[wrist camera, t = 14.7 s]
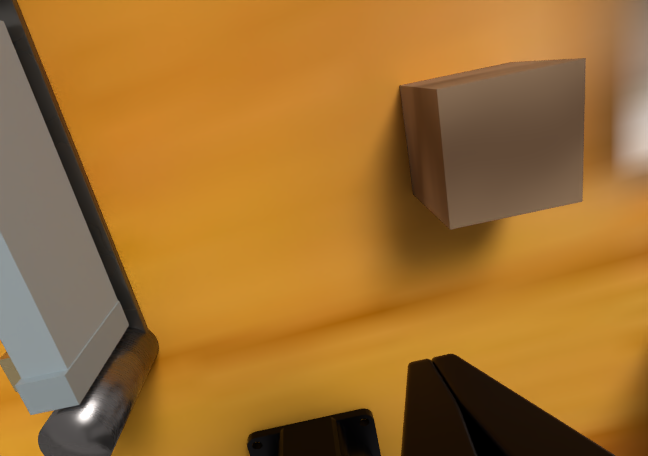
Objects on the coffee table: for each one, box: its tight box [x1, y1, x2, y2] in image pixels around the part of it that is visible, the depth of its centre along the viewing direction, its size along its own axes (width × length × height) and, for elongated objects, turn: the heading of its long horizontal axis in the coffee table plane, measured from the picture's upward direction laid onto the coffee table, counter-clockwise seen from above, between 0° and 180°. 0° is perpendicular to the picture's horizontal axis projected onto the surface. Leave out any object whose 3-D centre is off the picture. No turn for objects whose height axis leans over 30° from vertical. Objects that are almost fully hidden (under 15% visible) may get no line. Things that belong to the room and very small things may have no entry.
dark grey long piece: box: [0, 0, 159, 456], centre depth 14 cm, size 18×4×6 cm, turn 11°
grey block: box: [0, 21, 129, 415], centre depth 14 cm, size 12×2×5 cm, turn 11°
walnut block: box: [400, 58, 586, 230], centre depth 15 cm, size 4×4×4 cm
